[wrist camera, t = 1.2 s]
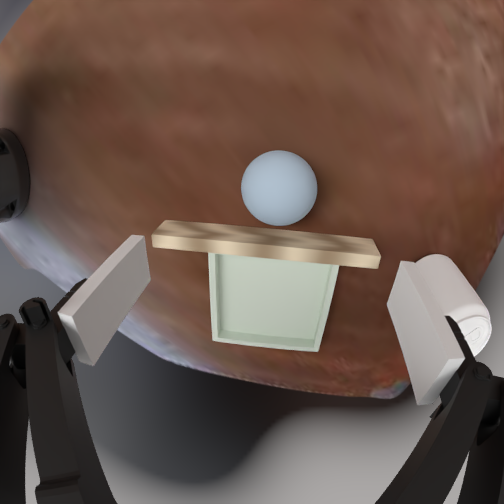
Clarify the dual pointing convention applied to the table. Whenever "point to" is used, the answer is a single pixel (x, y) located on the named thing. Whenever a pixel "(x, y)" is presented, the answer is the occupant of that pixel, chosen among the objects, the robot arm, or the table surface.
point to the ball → (279, 188)
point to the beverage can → (457, 299)
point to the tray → (269, 301)
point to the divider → (267, 243)
